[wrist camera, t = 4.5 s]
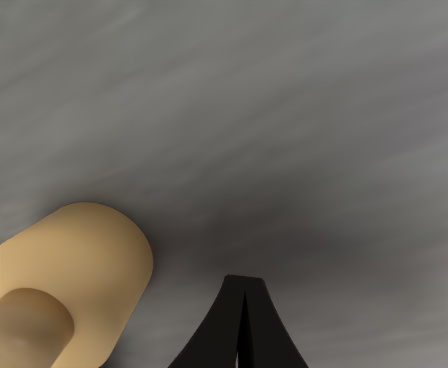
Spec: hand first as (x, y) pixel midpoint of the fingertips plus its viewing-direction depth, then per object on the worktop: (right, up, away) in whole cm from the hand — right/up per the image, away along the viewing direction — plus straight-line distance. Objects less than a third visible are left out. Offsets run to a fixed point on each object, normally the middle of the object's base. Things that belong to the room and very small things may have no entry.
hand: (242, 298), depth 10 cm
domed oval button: (-6, +1, +2) cm, 6 cm away
